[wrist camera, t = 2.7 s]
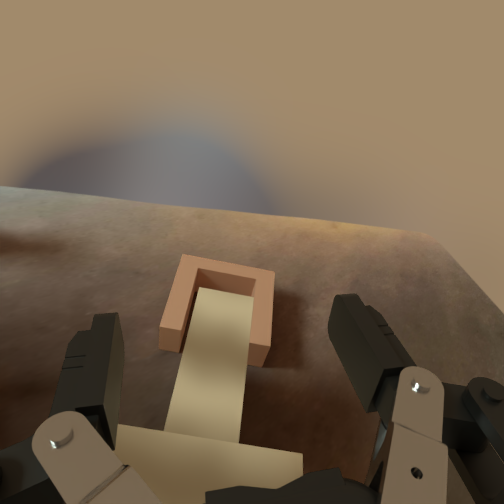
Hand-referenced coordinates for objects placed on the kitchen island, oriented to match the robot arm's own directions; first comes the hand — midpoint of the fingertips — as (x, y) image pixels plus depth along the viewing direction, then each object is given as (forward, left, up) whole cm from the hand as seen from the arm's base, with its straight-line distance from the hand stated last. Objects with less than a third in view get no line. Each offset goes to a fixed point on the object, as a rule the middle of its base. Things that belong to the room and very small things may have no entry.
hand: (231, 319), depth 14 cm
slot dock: (+11, +10, -22) cm, 27 cm away
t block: (+1, +1, -22) cm, 22 cm away
